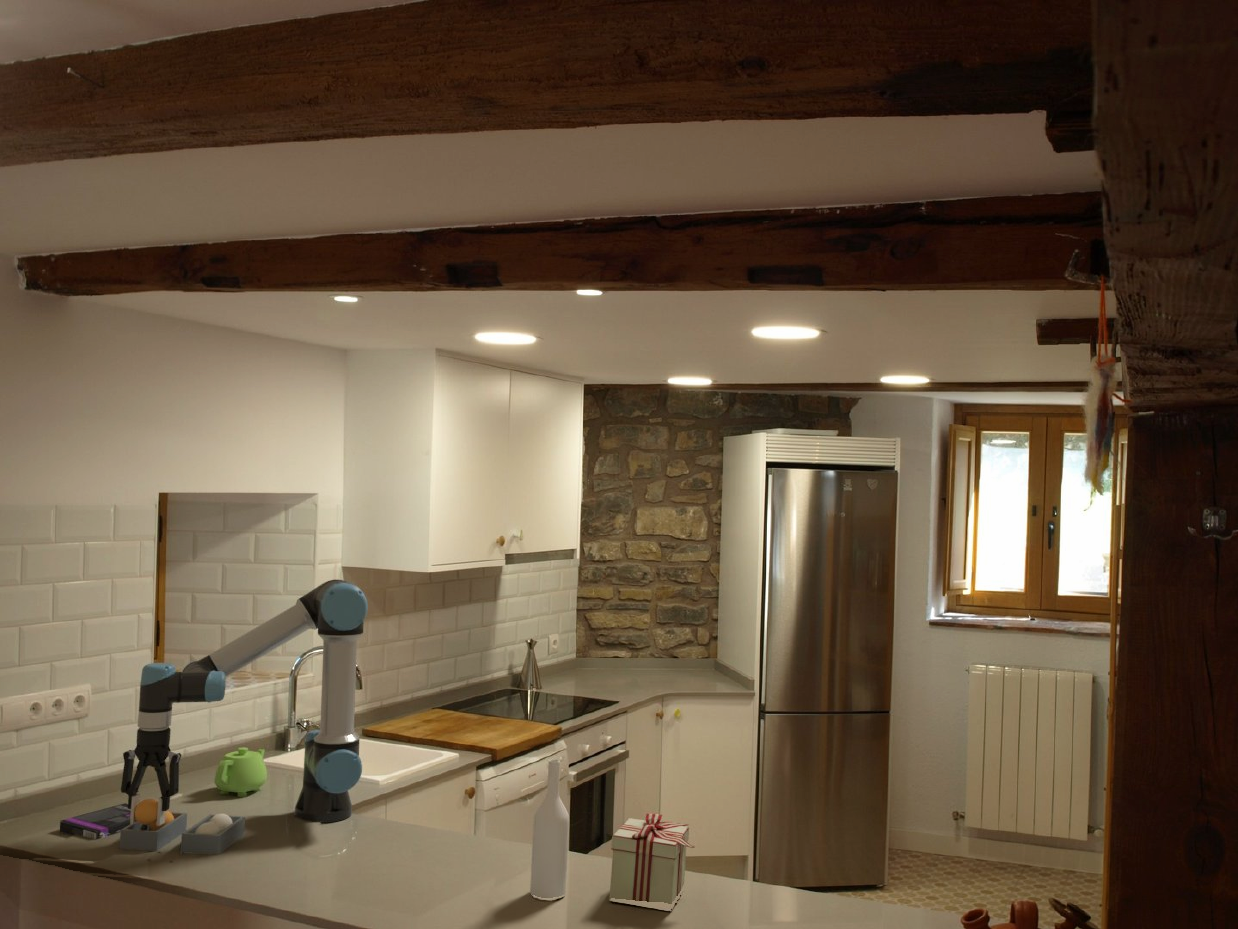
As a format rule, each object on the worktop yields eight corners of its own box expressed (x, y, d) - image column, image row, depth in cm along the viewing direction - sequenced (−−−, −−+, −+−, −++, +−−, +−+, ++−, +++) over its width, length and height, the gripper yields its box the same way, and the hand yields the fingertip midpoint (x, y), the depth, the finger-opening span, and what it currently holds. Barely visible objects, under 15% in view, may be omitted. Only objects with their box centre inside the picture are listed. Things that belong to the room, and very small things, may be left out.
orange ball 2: (177, 831, 265) (179, 808, 265) (166, 839, 259) (168, 815, 259) (154, 830, 265) (156, 806, 265) (143, 838, 259) (144, 813, 259)
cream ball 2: (235, 835, 264) (237, 811, 264) (226, 843, 258) (227, 818, 258) (212, 834, 264) (214, 810, 265) (202, 841, 258) (203, 817, 259)
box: (95, 846, 256) (162, 824, 274) (96, 831, 256) (162, 810, 274) (58, 834, 262) (125, 814, 280) (59, 820, 262) (126, 801, 280)
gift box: (690, 915, 228) (693, 836, 229) (607, 906, 231) (611, 827, 232) (698, 888, 245) (701, 813, 245) (620, 879, 248) (624, 806, 249)
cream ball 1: (224, 844, 257) (225, 819, 257) (213, 852, 251) (215, 827, 251) (200, 843, 257) (202, 818, 258) (189, 851, 251) (191, 825, 252)
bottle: (536, 903, 231) (543, 766, 232) (525, 890, 238) (531, 757, 239) (570, 899, 234) (577, 764, 235) (558, 886, 241) (564, 755, 242)
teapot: (243, 780, 316) (245, 738, 316) (281, 786, 312) (283, 743, 312) (197, 797, 297) (200, 752, 297) (237, 803, 293) (240, 758, 293)
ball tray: (243, 836, 265) (245, 816, 265) (205, 867, 243) (206, 845, 243) (145, 830, 266) (146, 810, 267) (98, 860, 244) (99, 838, 244)
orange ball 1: (164, 821, 258) (167, 797, 258) (153, 829, 252) (155, 803, 252) (141, 819, 258) (143, 795, 258) (128, 827, 252) (131, 801, 252)
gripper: (198, 726, 259) (192, 821, 258) (124, 722, 260) (117, 816, 259) (184, 733, 252) (178, 830, 251) (108, 728, 253) (101, 825, 252)
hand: (147, 823), depth 255 cm, fingers closed on orange ball 1, 6 cm apart
